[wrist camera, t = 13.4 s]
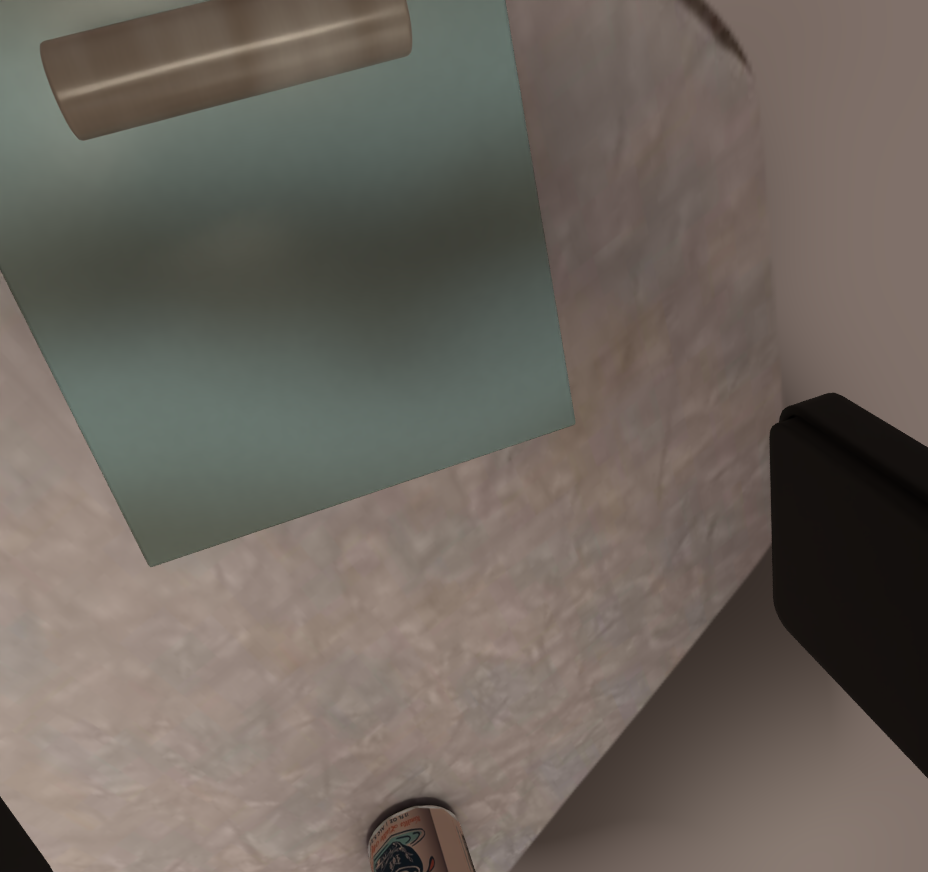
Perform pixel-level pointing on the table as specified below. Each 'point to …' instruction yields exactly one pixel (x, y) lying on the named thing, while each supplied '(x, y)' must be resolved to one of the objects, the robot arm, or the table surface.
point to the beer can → (420, 842)
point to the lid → (275, 248)
